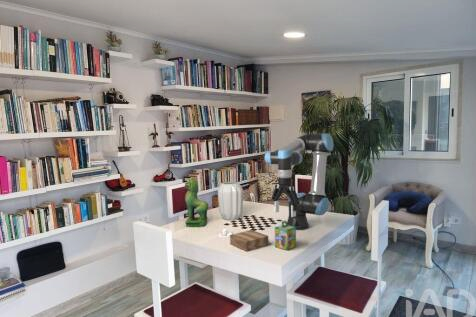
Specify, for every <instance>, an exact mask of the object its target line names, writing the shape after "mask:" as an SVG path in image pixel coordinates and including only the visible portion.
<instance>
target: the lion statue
mask: <svg viewBox="0 0 476 317" xmlns="http://www.w3.org/2000/svg"><path fill="white" fill-rule="evenodd" d="M184 187H185V189H186V190H187V191H186V193H185V195H184V196H185V197H184V201H185V204H186V208H187V212H188V218H187V219H186V220H185V227H186V228H201V227H205V226H206V224H207V223H208V216H207V215H208V208H209V203H208V202H207V201H205V200H200V199H199V198H198V192H199V183H198V181H197V179H195V178H194V177H193V176H191V177H190V178H188V179H187V181H186V182H184ZM195 212H196V214H198V215H199V216H197V217H196V216H195Z"/></svg>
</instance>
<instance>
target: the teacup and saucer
mask: <svg viewBox="0 0 476 317" xmlns="http://www.w3.org/2000/svg"><path fill="white" fill-rule="evenodd" d="M232 234H233V232H228V228H227V229H226V228H222V229H221V231H220V233H219V234H218V237H220V238H227V237H228V238H229V237H230V235H232Z"/></svg>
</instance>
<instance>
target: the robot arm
mask: <svg viewBox="0 0 476 317" xmlns="http://www.w3.org/2000/svg"><path fill="white" fill-rule="evenodd" d="M334 145H335V144H334V139H333V136H332V135H331V134H330V133H324V132H321V133H306V134H302V135H299V136H298V137H295V138H294V139H293V140H292V142H289V143H288V144H286V145H284V146H282V147H279V149H276V150H274V151H267V152H266V153H265V154H264V162H265V163H266V164H267V165H277V176H278V178H277V184H274V190H273V192H272V195H271V200H272V201H273V206H274V213H279V212H280V200H279V199H280V197H281V196H283V194H285V195H286V196H287V197H288V218H287V220H286V222H287V225H289V226H293V227H296V231H300V230H307V229H309V228H308V227H310V226H309V225H310V224H309V222H308V217H307V214H308V215H315V216H324V215H325V214H326V213H327V211H328V209H329V204H330V202H329V198H327V195H326V193H325V185H326V184H325V183H326V172H327V171H326V169H327V158H328V156H329V155H330V153H331V152H332V151H333V150H334ZM305 151H308V152H309V151H310V152H311V154H312V155H313V160H312V169H311V170H312V172H311V182H310V183H311V184H310V191H309V192H308V193H307V194H306V193H305V192H296V187H295V186H291V185H292V184H293V183H292V180H293V177H292V176H293V175H292V172H293V171H292V166H297V165H300V164H301V163H302V161H303V155H302V154H301V152H305Z"/></svg>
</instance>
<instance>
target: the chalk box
mask: <svg viewBox="0 0 476 317" xmlns="http://www.w3.org/2000/svg"><path fill="white" fill-rule="evenodd" d="M296 247H297V230H296V227H293V226H289V225H287V220H283V221H281V224H280V225H277V226H276V227H274V248H278V249H281V250H285V251H289V250H292V249H294V248H296Z"/></svg>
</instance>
